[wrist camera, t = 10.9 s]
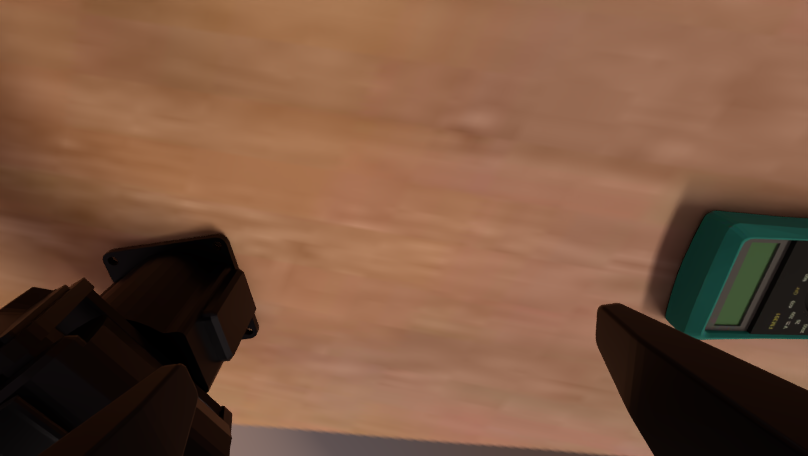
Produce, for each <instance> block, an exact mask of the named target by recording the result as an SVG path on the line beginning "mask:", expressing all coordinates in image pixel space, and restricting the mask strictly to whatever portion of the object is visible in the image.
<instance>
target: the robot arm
mask: <svg viewBox="0 0 808 456" xmlns="http://www.w3.org/2000/svg"><path fill="white" fill-rule="evenodd" d="M215 242H219V243H221V244H222V247H218V246H217V245H216V244H215ZM113 257H115V258H116V259H117V260H118V262H117V261H115V260H114V259H113ZM103 262H104V264H105V266H106V268H107V270H108V272H109V274H110V276H111V278H112V280H113V282H114V283H113V284H112V285H111V286H110V287H109V288H108V289H107V290H105V291H104V292H103V293H102V294H101V295H100V296H99V295H98V294H97V293H96V292H95V291H94V290H93V289H94V288H95V287H94V286H93V285H92V284H91V283H90V282H89V281H87V280H86V279H85V278H82V279H81V280H79V281H78V282H76V283H75V284H73V285H71V286H70V287H68V286H67V285H64V286H62V287H60V288H59V289H55V290H48V289H42V288H36V287H32V288H30V289H29V290H27V291H26V292H24V293H23V294H21V295H20V296H18V297H17V298H16V299H14V300H13V301H11V302H10V303H8V304H7V305H5V306H4V307H3V308H1V309H0V456H229V455H230V445H231V439H232V437H231V425H232V413H231V412H230V411H229V410H228V409H227V408H226V407H225V406H220V405H219V404H218V403H217V402H215V401H214V400H213V399H212V398H211V397H210V396H209V395H208V394H207V392H208V391H209V389H210V387H211V385H212V383H213V381H214V379H215V377H216V375H217V373H218V372H219V370H220V368H221V366H222V364H223V362H224V361H230V360H231V359H232V357H233V356H234V354H235V352H236V350H237V348H238V346H239V344H240V342H241V340H242V339H249V338H253V337H255V336H256V335H257V332H258V330H259V325H258V322H257V319H256V316H255V310H256V306H255V303H254V301H253V298H252V295H251V292H250V289H249V286H248V283H247V280H246V277H245V274H244V272H243V271H242V270H240V269H239V268H238V265H237V262H236V259H235V256H234V253H233V250H232V247H231V245H230V242H229V240H228V238H227V237H225V236H224V235H221V234H215V235H208V236H201V237H194V238H187V239H180V240H173V241H166V242H159V243H152V244H145V245H138V246H131V247H125V248H118V249H112V250H110V251H109V252H107V253H106V254H105V255H104V256H103ZM247 328H251V329H252V331H251V330H248V329H247ZM596 343H597V346H598V349H599V351H600V353H601V355H602V357H603V359H604V361H605V364H606V366H607V368H608V370H609V372H610V374H611V376H612V379H613V381H614V383H615V385H616V387H617V389H618V392H619V394H620V396H621V398H622V400H623V402H624V404H625V406H626V408H627V410H628V412H629V414H630V416H631V418H632V419H633V421H634V423H635V425H636V426H637V428H638V430H639V431H640V433H641V435H642V436H643V438H644V440H645V441H646V443H647V445H648V446H649V448H650V449H651V451H652V453H653V454H654V456H808V390H806V389H804V388H802V387H800V386H797V385H795V384H793V383H791V382H789V381H787V380H784V379H782V378H780V377H778V376H776V375H774V374H771V373H769V372H767V371H765V370H763V369H761V368H759V367H756V366H754V365H752V364H750V363H748V362H746V361H743V360H741V359H739V358H737V357H735V356H733V355H730V354H728V353H726V352H724V351H722V350H720V349H718V348H715V347H713V346H711V345H709V344H707V343H705V342H702V341H700V340H698V339H696V338H694V337H692V336H689V335H687V334H685V333H683V332H681V331H679V330H677V329H674V328H672V327H670V326H668V325H666V324H664V323H661V322H659V321H657V320H655V319H653V318H651V317H648V316H646V315H644V314H642V313H640V312H638V311H635V310H633V309H631V308H629V307H627V306H625V305H623V304H620V303H613V304H606V305H601V306H600V307H599V308H598V310H597V322H596Z"/></svg>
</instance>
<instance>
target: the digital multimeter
mask: <svg viewBox="0 0 808 456" xmlns="http://www.w3.org/2000/svg"><path fill="white" fill-rule="evenodd" d="M798 240H801V241H798ZM665 318H666V319H667V321H668V322H669V323H670V324H671V325H672V326H673V327H674V328H675V329H677V330H679V331H681V332H683V333H685V334H687V335H689V336H692V337H694V338H696V339H698V340H706V339H760V338H765V339H808V218H794V217H779V216H769V215H758V214H747V213H737V212H726V211H711V212H710V213H708V214H707V215H706V216H705V217H704V219H703V221H702V223H701V225H700V226H699V228H698V230H697V232H696V234H695V236H694V238H693V240H692V242H691V244H690V247H689V249H688V251H687V253H686V255H685V257H684V259H683V262H682V265H681V267H680V270H679V272H678V275H677V277H676V280H675V284H674V287H673V290H672V293H671V297H670V300H669V304H668V308H667V312H666V317H665Z"/></svg>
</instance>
